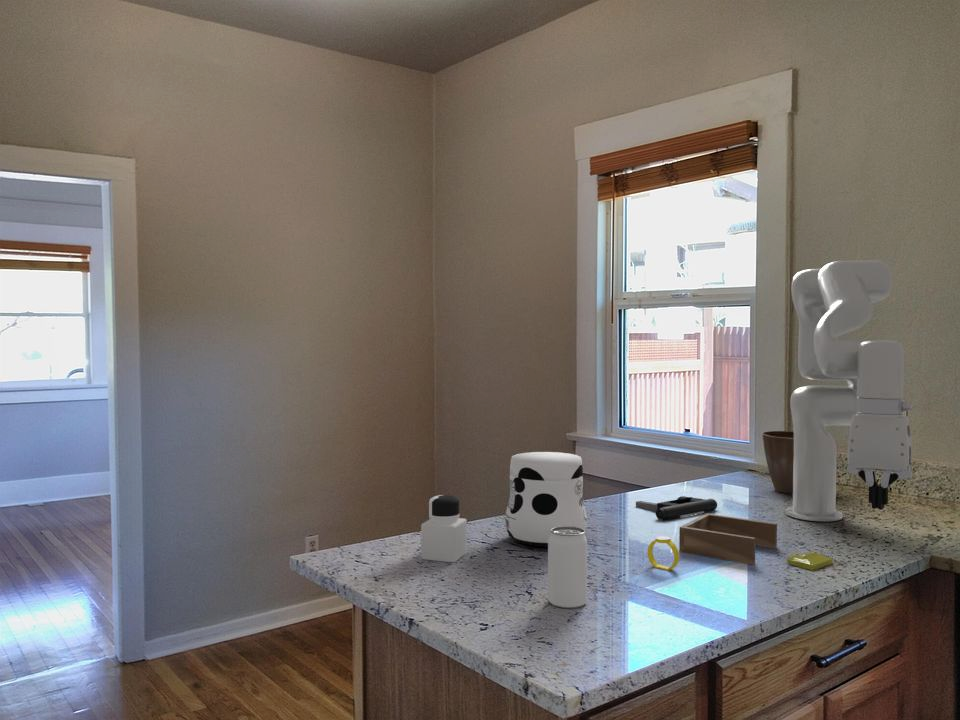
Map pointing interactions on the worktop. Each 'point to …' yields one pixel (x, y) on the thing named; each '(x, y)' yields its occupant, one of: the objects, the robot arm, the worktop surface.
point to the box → (726, 537)
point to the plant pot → (780, 458)
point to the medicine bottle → (444, 531)
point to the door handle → (679, 507)
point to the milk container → (544, 496)
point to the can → (567, 567)
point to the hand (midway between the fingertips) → (878, 507)
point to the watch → (676, 553)
